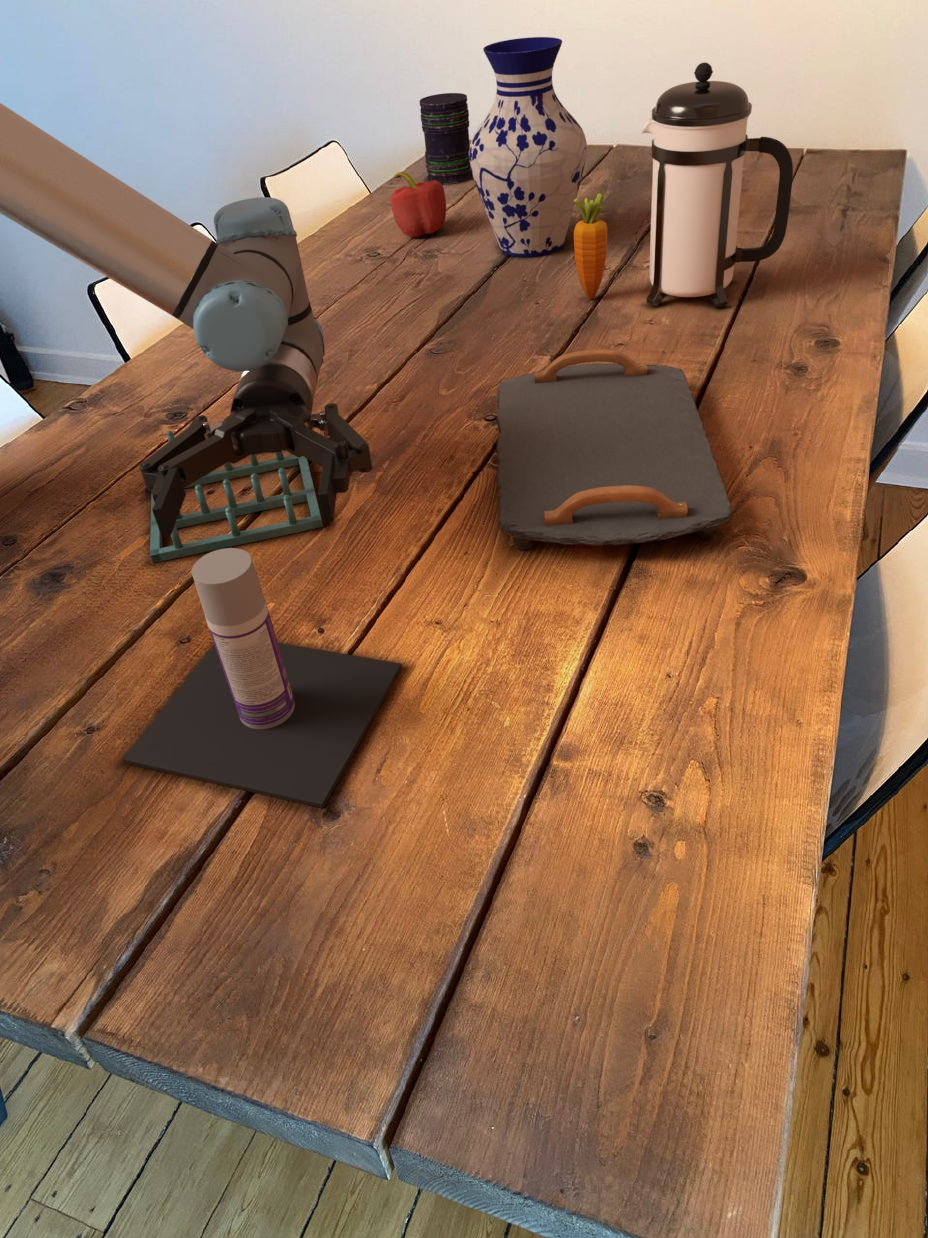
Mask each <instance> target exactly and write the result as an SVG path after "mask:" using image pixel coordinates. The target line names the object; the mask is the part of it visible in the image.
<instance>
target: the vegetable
mask: <svg viewBox="0 0 928 1238" xmlns="http://www.w3.org/2000/svg"><path fill="white" fill-rule="evenodd" d="M393 177H394V178H395V179H402V178H404V179H405V181H406V182H407V183H408V185H409V186H402V187H400V188H398V189H396V190H394V191H393V192H392V193H391V196H390V207H391V212H392V214H393V218H394V220H395V224H396V225H397V227H398V228H399V229H400V230H401V231H402V233H403V234H404V235H406V236H408V237H411V238H418V237H421V236H422V235H423V236H424V235H427V234H428V235H429V234H430V235H431V234H434V233H435V232H436V231H439V230H440V229H441V228H442V227H443V226H444V224H445V221H446V216H447V199H446V192H445V189H444V186H443V184H441V183H440V182H438V181H435V180H434V181H430V182H429V181H428V182H424V181H420V182H417V183H416V182H415V181H414V179H413V178H412V176H410V175H409V174H408V173H407V172H404V171H399V172H397V173H395V174H394V175H393Z"/></svg>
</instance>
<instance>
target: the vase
mask: <svg viewBox="0 0 928 1238" xmlns="http://www.w3.org/2000/svg"><path fill="white" fill-rule="evenodd" d="M562 44H563V40H562V39H561V38H557V37H551V36H533V37H532V36H531V37H520V38H519V37H518V38H511V39H506V40H500V41H497V42H492V43H490V44H487V45H486V46H484V47H483V49H482V50H483V52H484V55H485V56H486V58H487V60H488V62H489V64H490V66H491V68H492V70H493V74H494V76H495V80H496V81H495V82H496V92H495V97H494V100H493V103H492V106H491V107H490V109H489V111H488V113H487V114H486V116H485V117H484V118H483V120H482V121H481V123H480V124H479V126H478V128H477V129H476V130H475V133H473V136H472V137H471V141H470V149H469V158H470V165H471V170H472V174H473V177H472V178H473V180H474V182H475V185H476V189H477V192H478V194H479V198H480V201H481V203H482V206H483V207H484V210H485V213H486V216H487V218H488V220H489V223H490V225H491V228H492V231H493V233H494V236H495V238H496V241H497V243H498V245H499V248H500V251H501V252H502V253H503V254H505V255H507V256H512V257H515V258H517V257H519V258H534V257H541V256H546V255H550V254H553V253H555V252H557V251H559V250H561V249H562V248H563V247H564V244H565V242H566V241H565V240H566V236H567V233H568V229H569V226H570V222H571V219H572V215H573V213H574V208H575V206H576V204H575V203H574V200H575V199H576V198H578V194H579V190H580V186H581V183H582V178H583V174H584V170H585V165H586V161H587V147H588V145H587V144H588V143H587V138H586V135H585V132H584V129H583V128H582V126H581V125H580V123H579V122H578V121H577V119H576V118H575V117H574V116H573V115H572V114H571V112H569V111H568V110H567V109H566V107H565V106H564V105H563V104H562V102H561V101H560V100H559V98H558V96H557V93H556V92H555V89H554V86H553V71H554V66H555V62H556V59H557V57H558V55H559V53H560V50H561V47H562Z"/></svg>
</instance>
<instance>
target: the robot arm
mask: <svg viewBox="0 0 928 1238" xmlns="http://www.w3.org/2000/svg"><path fill="white" fill-rule="evenodd" d="M0 214H1V215H3V216H4V217H6V218H7V219H9V220H10V221H12V222H14V223H16V224H17V225H19V226H21V227H23V228H24V229H26V230H28V232H29V231H30V232H31V233H33V234H34V235H36V236H38V237H39V238H41V239H42V240H44V241H46V242H47V243H49V244H51V245H53V246H55V247H56V248H58V249H60V250H61V251H63V252H64V253H66V254H68V255H70V256H71V257H73V258H75V259H76V260H78V261H79V262H81V263H83V264H85V265H86V266H88V267H90V268H91V269H93V270H95V271H97V272H98V273H100V274H102V275H103V276H104V277H106V278H108V279H110V280H112V282H115V283H116V284H118V285H120V286H121V287H123V288H125V289H126V290H128V291H130V292H132V293H133V294H135V295H137V296H138V297H140V298H141V299H144V301H146V302H148V303H150V304H152V305H153V306H155V307H157V308H158V309H160V310H161V311H163V312H165V313H167V314H168V315H170V316H171V317H174V318H175V319H177V320H178V321H180V322H181V323H183V324H184V325H185V326H188V327H189V328H190V329H192V330H193V335H194V339H195V341H196V343H197V345H198V346H199V348H200V350H201V351H202V353H203V354H204V355H205V356H206V358H207V359H208V360H210V362H212V363H213V364H214V365H216V366H218V367H220V368H223V369H225V370H229V371H232V372H233V371H234V372H241V375H240V376H239V379H238V383H237V387H236V389H235V391H234V395H233V398H232V401H231V405H230V412H229V414H228V415H227V416H226V417H224V419H223V420H222V421H223V422H221V423H218V422H209V421H208V417H207V416H206V415H197V416H194V418H193V420H191V422H190V424H189V426H188V427H187V428H185V429H184V430H183V431H181V432H180V433H179V434H178V435H176V436H174V437H175V438H174V439H173V440H171V441H170V442H169V441H168V442H167V443H165V444H164V445H163V446H162V447H161V448H159V449H158V450H157V451H155V452H154V453H153V454H151V455H150V456H149V457H147V459H145V460H143V461H142V462H141V463H140V464H139V466H138V467H139V470H140V473H141V475H142V478H143V481H144V484H145V487H146V490H147V491H148V492H149V493H150V494H151V493H152V496H153V499H154V502H155V504H154V506H153V509H152V511H153V514H154V517H155V519H156V522H157V525H158V528H159V531H160V534H161V536H162V538H167V537H171V534H172V531H173V528H174V526H175V523H176V520H177V518H178V515H179V512H181V509H182V506H183V504H184V501H185V498H186V495H187V493H186V490H185V489H186V488H185V487H186V486H188V485H190V484H191V483H193V482H195V481H197V480H198V479H200V478H202V477H203V476H205V475H207V474H209V473H210V472H212V471H216V470H218V469H219V468H221V467H222V466H225V465H224V464H226V463H227V462H230V463H231V464H232V465H233V464H237V463H239V462H240V461H242V460H244V459H245V458H247V457H248V456H249V455H255V454H256V455H260V454H265V453H268V454H269V453H270V454H271V453H272V454H276V452H288V453H290V454H291V455H295V456H296V457H298V458H300V457H302V456H304V457H305V458H307V460H309V461H311V462H312V463H314V464H315V465H317V466H319V467H321V474H320V480H319V486H318V492H317V496H318V501H319V507H320V512H321V517H322V521H323V523H334V517H335V509H336V503H337V496H338V494H342V493H347V492H348V490H349V488H350V482H351V481H350V480H351V476H352V475H353V472H355V471H359V472H360V473H369V472H372V470H373V464H372V457H371V453H370V447H369V443H368V442H367V440H365V438H363V437H362V435H360V434H359V433H358V432H357V431H356V430H355V429H354V428H353V427H352V426H351V425H350V424H349V423H348V422H347V421H346V420H345V419H344V418H343V417H342V416H341V415H340V413H339V408H338V404H337V403H333V402H332V403H328V404H326V405H325V406H324V410H322V411H320V412H319V413H313V407H314V402H315V397H316V391H317V387H318V380H319V375H320V371H321V367H322V365H323V363H324V357H325V355H326V347H325V335H324V331H323V328H322V326H321V324H320V322H319V321H318V320H317V318H316V317H315V315H314V312H313V308H312V306H311V301H310V298H309V293H308V287H307V284H306V279H305V274H304V270H303V265H302V260H301V255H300V250H299V245H298V241H297V237H298V234H297V231H296V230H295V228H294V224H293V221H292V217H291V213H290V209H289V208H288V206H287V204H286V203H285V202H284V201H283V200H281V199H278V198H276V197H268V196H267V197H266V196H259V197H252V198H245V199H241V200H236V201H233V202H231V203H228V204H226V205H224V206H222V207H221V208H220V209H218V210H217V211H216V212H215V214H214V216H213V225H214V230H215V235H216V240H215V241H214V240H213V239H212V238H210V237H209V236H208V235H205V234H204V233H202V232H201V231H199V230H198V229H196V228H195V227H193V226H191V225H190V224H189V223H187V222H186V221H184V220H182V219H181V218H179V217H178V216H176V215H175V214H173V213H172V212H170V211H168V210H167V209H165V208H164V207H162V206H161V205H159V204H158V203H156V202H154V201H153V200H151V199H150V198H148V197H147V196H145V195H144V194H142V193H140V192H139V191H137V190H136V189H134V188H133V187H131V186H130V185H128V184H127V183H125V182H124V181H122V180H121V179H119V178H117V177H115V176H114V175H112V174H111V173H109V172H108V171H106V170H105V169H104V168H102V167H101V166H99V165H97V164H95V163H94V162H93V161H91V160H90V159H88V158H86V157H85V156H83V155H82V154H80V153H79V152H77V151H75V150H74V149H73V148H71V147H69V146H68V145H66V144H65V143H63V142H61V141H60V140H59V139H57V138H55V137H54V136H52V135H51V134H49V133H48V132H46V131H45V130H43V129H41V128H40V127H38V125H37V126H36V124H34V123H32V122H31V121H29V120H28V119H26V118H25V117H23V116H22V115H20V114H18V113H16V112H15V111H13V110H12V109H10V108H9V107H8V106H6V105H4V103H1V102H0ZM312 413H313V414H312ZM314 429H318V430H319V431H320V432H323V434H321V433H319V432H318V431H315V430H314ZM233 445H234V446H235V447H237V449H236V450H234V446H233Z"/></svg>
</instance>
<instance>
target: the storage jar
mask: <svg viewBox="0 0 928 1238" xmlns="http://www.w3.org/2000/svg"><path fill="white" fill-rule="evenodd" d="M418 102H419V107H420V111H419V112H420V122H421V130H422V132H423V137H424V144H425V145H424V146H425V152H424V157H425V168H426V172H427V181H428V182H430V181H434V180H435V181H438V182H440V183H441V184H442V185H453V184H458V183H463V182H466V181H469V180H471V179H472V178H474V177H473V174H472V170H471V165H470V158H469V149H470V144H471V142H470V132H469V127H470V118H469V117H470V112H469V105H468V95H467V94H465V93H460V92H446V93H445V92H443V93H438V94H432V95H428V96H425V97H422V98H420V99H419V101H418Z"/></svg>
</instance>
